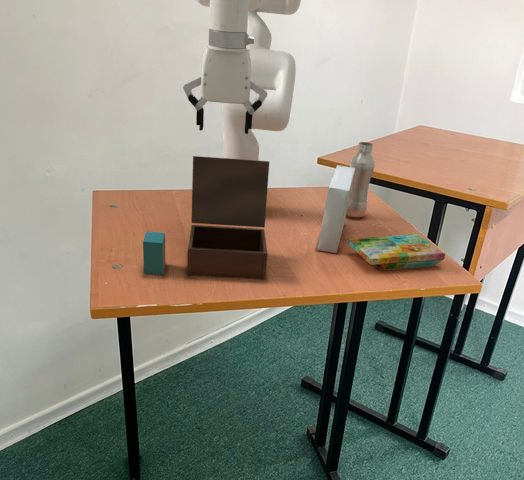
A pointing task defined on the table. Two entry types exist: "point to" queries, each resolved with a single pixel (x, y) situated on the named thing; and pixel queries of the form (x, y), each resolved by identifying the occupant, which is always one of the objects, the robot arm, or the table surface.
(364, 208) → the silver metal bottle
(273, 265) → the table surface
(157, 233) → the block
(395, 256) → the puzzle game
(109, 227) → the table surface
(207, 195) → the lid
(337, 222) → the skincare box
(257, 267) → the chest
